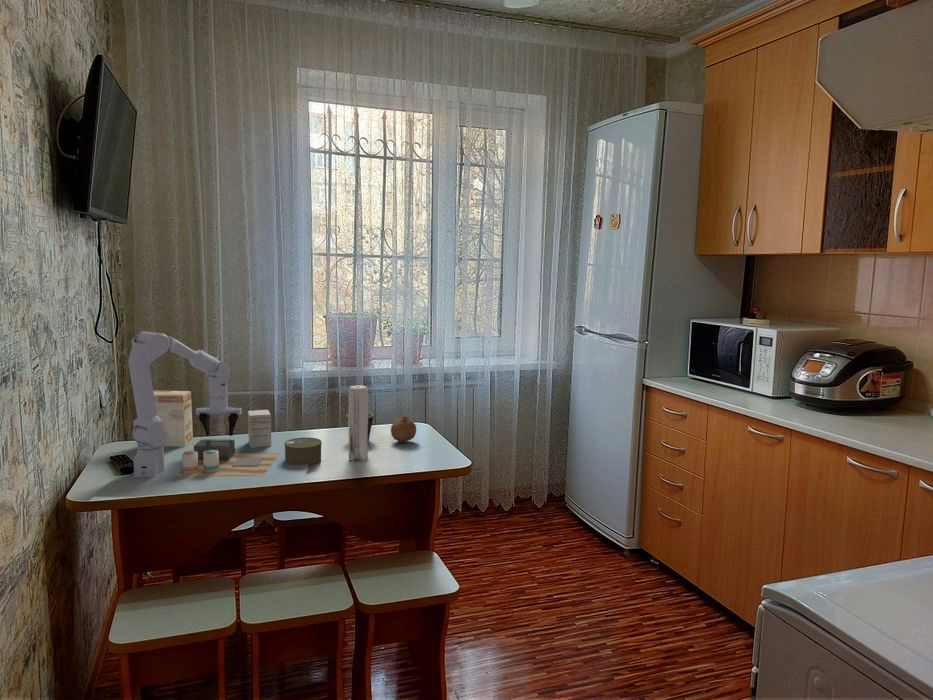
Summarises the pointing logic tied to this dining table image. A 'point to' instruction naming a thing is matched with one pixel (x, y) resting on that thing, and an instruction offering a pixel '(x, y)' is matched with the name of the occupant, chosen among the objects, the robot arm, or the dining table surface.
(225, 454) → the box
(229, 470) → the board
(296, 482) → the dining table surface
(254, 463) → the mat
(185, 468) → the cylinder
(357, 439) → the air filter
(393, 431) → the onion
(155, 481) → the dining table surface
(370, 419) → the ceramic cup
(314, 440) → the can
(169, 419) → the coffeecake box
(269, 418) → the supplement box
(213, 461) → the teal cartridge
